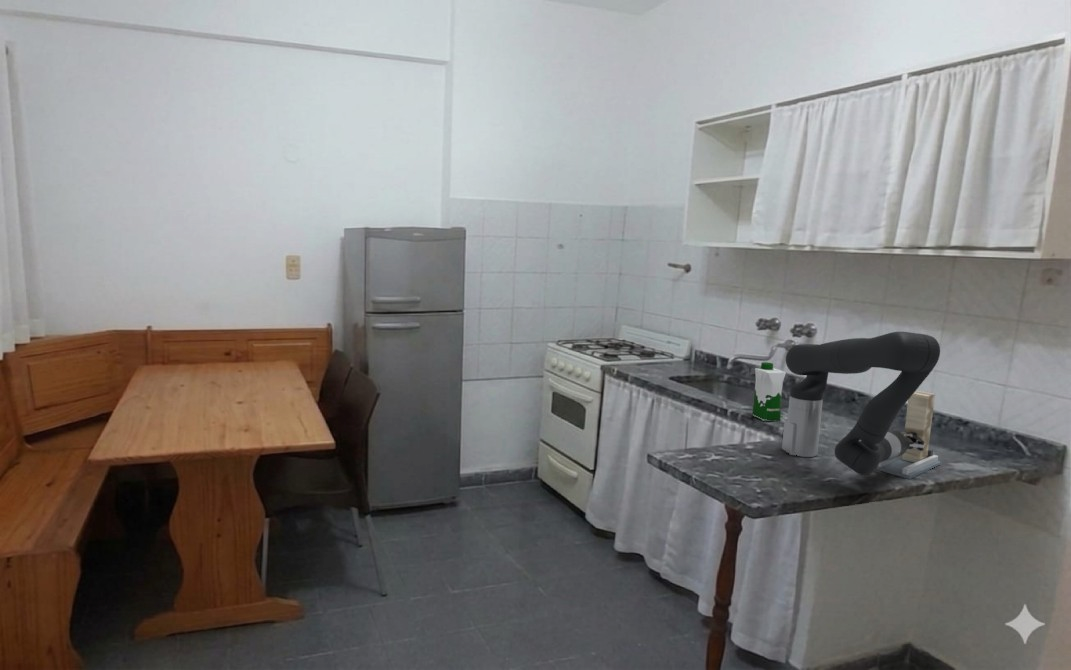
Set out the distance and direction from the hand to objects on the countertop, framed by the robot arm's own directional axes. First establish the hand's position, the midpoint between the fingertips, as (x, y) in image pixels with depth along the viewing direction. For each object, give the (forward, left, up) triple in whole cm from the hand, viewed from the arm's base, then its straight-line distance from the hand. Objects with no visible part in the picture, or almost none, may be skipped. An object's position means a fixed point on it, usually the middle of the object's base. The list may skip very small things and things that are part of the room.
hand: (913, 435), depth 188 cm
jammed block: (+2, +1, -8) cm, 8 cm away
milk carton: (-23, +48, -9) cm, 54 cm away
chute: (-1, -1, -9) cm, 9 cm away
